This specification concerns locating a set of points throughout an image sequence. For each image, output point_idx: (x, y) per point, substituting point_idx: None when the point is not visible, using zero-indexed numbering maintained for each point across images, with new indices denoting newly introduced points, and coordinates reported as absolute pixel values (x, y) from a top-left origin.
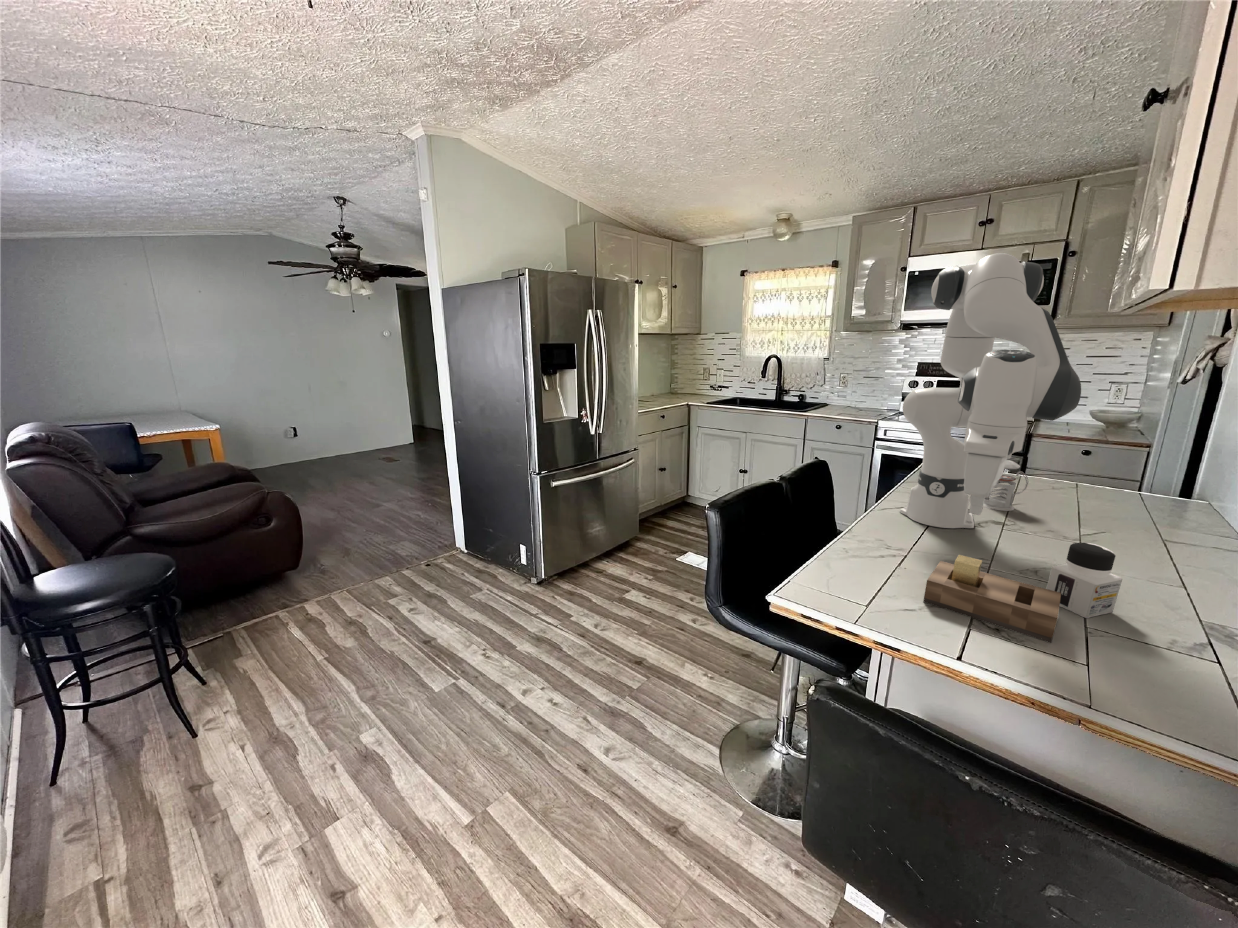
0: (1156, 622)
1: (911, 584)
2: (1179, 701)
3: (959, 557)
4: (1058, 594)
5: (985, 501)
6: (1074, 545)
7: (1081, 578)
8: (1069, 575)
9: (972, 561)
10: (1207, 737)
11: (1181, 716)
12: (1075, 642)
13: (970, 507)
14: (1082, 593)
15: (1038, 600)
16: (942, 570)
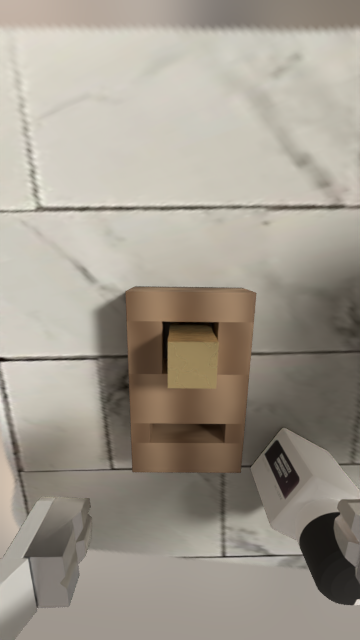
0: None
1: (194, 253)
2: (104, 526)
3: (199, 346)
4: (230, 469)
5: (339, 529)
6: None
7: (283, 511)
8: (292, 495)
9: (193, 372)
10: None
11: None
12: None
13: (21, 530)
14: (268, 491)
15: (181, 449)
16: (201, 306)
